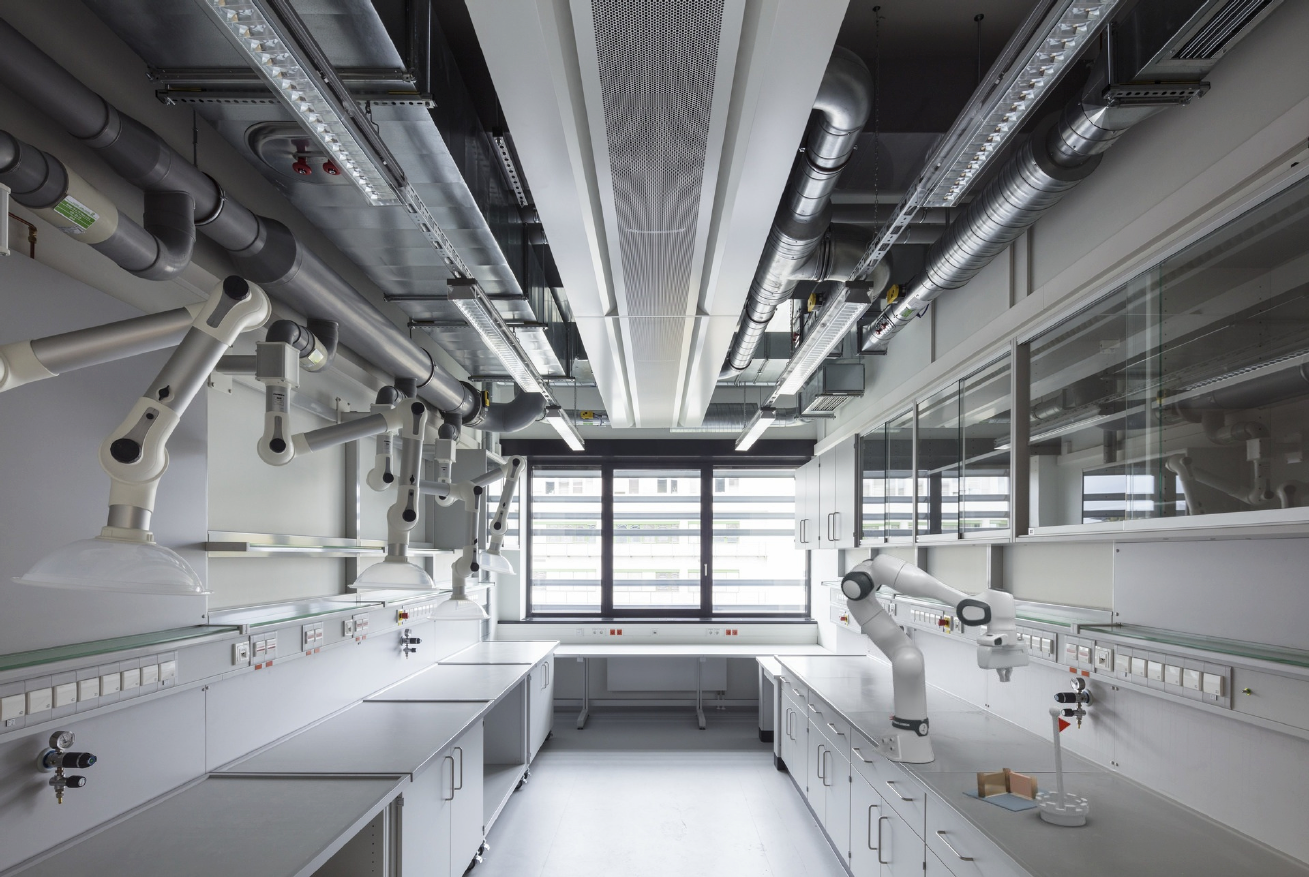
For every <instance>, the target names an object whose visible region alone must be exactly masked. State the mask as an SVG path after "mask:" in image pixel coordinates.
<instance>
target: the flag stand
mask: <svg viewBox="0 0 1309 877" xmlns="http://www.w3.org/2000/svg"><path fill="white" fill-rule="evenodd" d="M1048 713H1049V715H1050V716H1051V717H1052V718H1051V720H1052V731H1053V732H1052V733H1053V743H1054V745H1053V746H1054V757H1055V758H1054V760H1055V774H1056V786H1057V791H1048V796H1044V793H1041V792H1040V793H1037V794H1036V797H1035V798H1036V806H1037V807H1036V808H1038V809H1039V811H1040V818H1041V819H1042V820H1044V821H1045V822H1048V823H1049V824H1054V825H1057V826H1063V827H1079V826H1084V825H1085V824H1086V815H1088V813H1089V812H1090V809H1089V808H1090V807H1089V802H1088V799H1086V798H1084V797H1080V799H1078V796H1077V795H1076V794H1072V793H1068V792H1067V793H1066V796H1065V792H1064V777H1063V776H1064V774H1063V763H1062V762H1063V760H1062V750H1061V749H1062V747H1061V738H1060V737H1061V736H1060V733H1061V732H1063V731H1064V730H1065V729H1067V728H1068V727H1069V726H1071V725H1072V724H1071V723H1070V722H1068V721H1067V720H1064V719H1062V718H1061V717H1060V716H1061V709H1060V708H1059V707H1058V706H1055V705H1054V706H1053V705H1052V706H1050V707H1049V709H1048Z"/></svg>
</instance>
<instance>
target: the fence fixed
mask: <svg viewBox="0 0 1309 877" xmlns="http://www.w3.org/2000/svg"><path fill="white" fill-rule="evenodd" d="M1009 772H1012V771H1011V768H1009V767H1002V770H1001V771H1000V770H999V771H994V772H989V773H984V772H976V780H977V789H978V797H981V798H985V797H987V796H992V795H997V794H1002V793H1006V792H1008V793H1011V790H1010V775H1009Z"/></svg>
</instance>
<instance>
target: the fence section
mask: <svg viewBox="0 0 1309 877" xmlns="http://www.w3.org/2000/svg"><path fill="white" fill-rule="evenodd" d="M1009 775H1010V790H1011V792H1014V793H1017V794H1020V795H1023V796H1026V797H1029V798H1032V799H1035V800H1036V798H1035V797H1036V794H1037V793H1038V789H1039V788H1038V778H1037V777H1036V776H1027V775H1024V774H1021V773H1017V772H1013V771H1011V772H1009Z"/></svg>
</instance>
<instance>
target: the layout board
mask: <svg viewBox="0 0 1309 877" xmlns="http://www.w3.org/2000/svg"><path fill="white" fill-rule="evenodd" d="M1040 792H1041V793H1044V796H1048V792H1049V791H1047V790H1044V789H1040V788H1038V793H1040ZM962 794H964V795H967V796H969V797H972V798H975V799H977V800H981V801H983V802H985V803H986V802H987V803H989V804H992V805H995V806H998V807H1001V808H1003V809H1005V810H1009V811H1011V812H1014V813H1016V812H1020V811H1025V810H1030V809H1033V808H1034V809H1035V808H1038V807H1037V806H1036V800H1035V799H1032V798H1029V797H1026V796H1023V795H1020V794H1017V793H1014V792H1011V793H1008V792H1006V793H1002V794H997V795H992V796H987V797H985V798H981V797H978V788H977V789H973V790H967V791H962Z"/></svg>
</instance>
